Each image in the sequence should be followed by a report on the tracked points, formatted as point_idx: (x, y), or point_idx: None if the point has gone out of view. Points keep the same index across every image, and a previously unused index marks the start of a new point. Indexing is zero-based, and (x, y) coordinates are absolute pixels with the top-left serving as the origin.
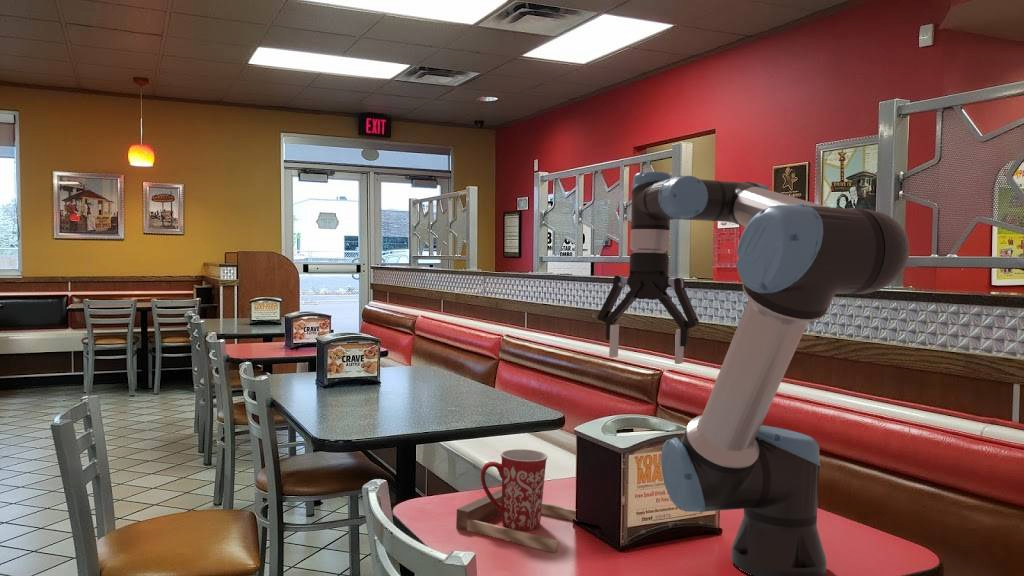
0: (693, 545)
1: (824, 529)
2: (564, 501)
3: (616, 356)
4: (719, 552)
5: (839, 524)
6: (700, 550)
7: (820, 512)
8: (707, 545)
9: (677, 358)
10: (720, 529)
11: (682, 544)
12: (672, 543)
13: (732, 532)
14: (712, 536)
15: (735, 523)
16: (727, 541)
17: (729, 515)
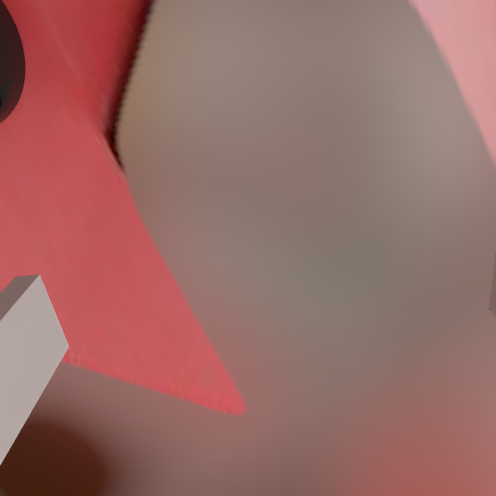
0: (104, 34)
1: None
2: (465, 85)
3: (492, 288)
4: (49, 36)
5: None
6: (79, 16)
7: None
8: (86, 57)
9: (3, 295)
10: (121, 164)
11: (122, 22)
12: (139, 10)
13: (97, 164)
14: (109, 115)
15: (121, 214)
16: (75, 109)
17: (152, 247)
